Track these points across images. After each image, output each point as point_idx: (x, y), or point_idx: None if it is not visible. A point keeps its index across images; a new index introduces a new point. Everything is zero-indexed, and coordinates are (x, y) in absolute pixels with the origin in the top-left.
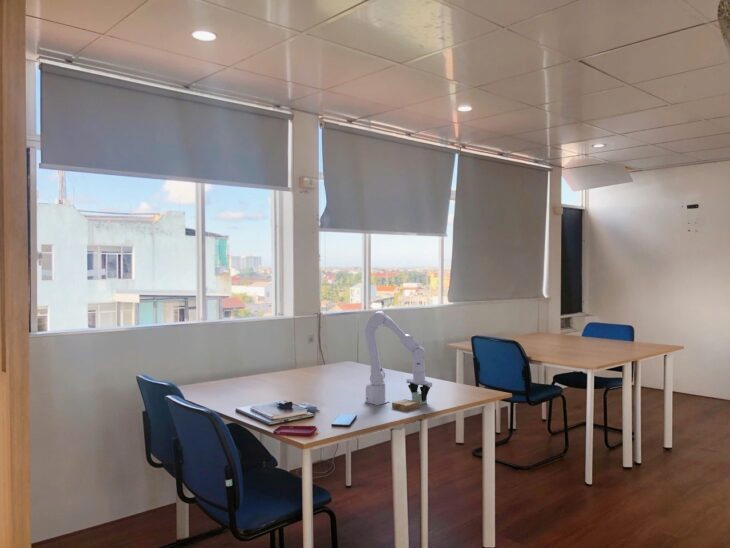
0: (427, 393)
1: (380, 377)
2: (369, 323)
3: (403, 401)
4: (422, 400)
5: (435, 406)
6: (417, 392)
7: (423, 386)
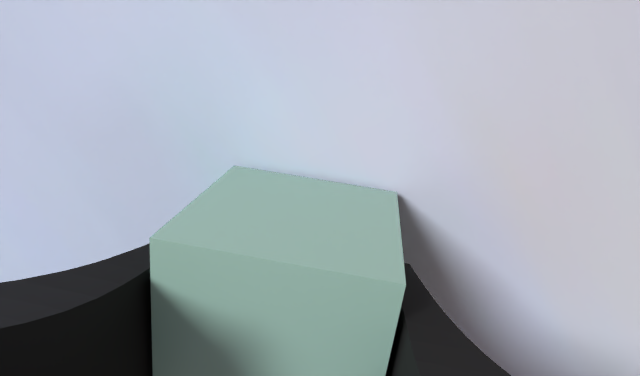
0: (464, 343)
1: None
2: None
3: None
4: None
5: (606, 283)
6: (224, 369)
7: None
